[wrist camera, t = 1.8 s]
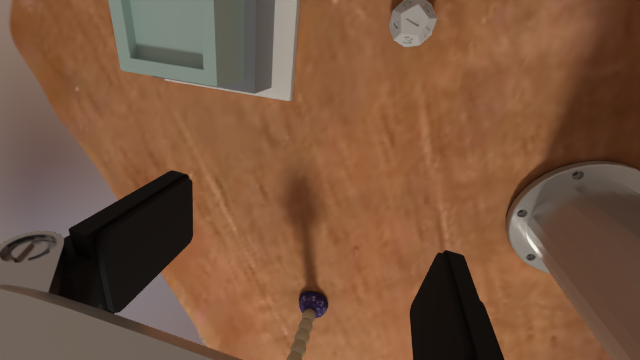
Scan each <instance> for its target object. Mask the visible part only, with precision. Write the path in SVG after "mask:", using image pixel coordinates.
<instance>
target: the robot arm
mask: <svg viewBox="0 0 640 360" xmlns="http://www.w3.org/2000/svg"><path fill="white" fill-rule="evenodd" d="M69 233H70V235H69V236H67V237H66V238H63V237H62V235H61V234H58V233H56V232H51V231H36V232H30V233H25V234H22V235H19V236H16V237H13V238H11V239H9V240H7V241H5V242H3V243H2V244H0V360H242V359H239V358H236V357H234V356H231V355H228V354H225V353H222V352H220V351H217V350H214V349H211V348H208V347H206V346H203V345H200V344H197V343H194V342H192V341H189V340H186V339H183V338H180V337H178V336H175V335H172V334H169V333H166V332H163V331H161V330H158V329H155V328H152V327H149V326H146V325H144V324H141V323H138V322H135V321H132V320H129V319H127V318H123V317H121V316H118V315H115V314H114V313H118V312H120V311H121V310H122V309H124V308H125V307H126V306H127V305H128V304H129V303H130V302H131V301H132V300H133V299H134V298H135V297H136V296H137V295H138V294H139V293H140V292H141V291H142V290H143V289H144V288H145V287H146V286H147V285H148V284H149V283H150V282H151V281H152V280H153V279H154V278H155V277H156V276H157V275H158V274H159V273H160V272H161V271H162V270H163V269H164V268H165V267H166V266H167V265H168V264H169V263H170V262H171V261H172V260H173V259H174V258H175V257H176V256H177V255H178V254H179V253H180V252H181V251H182V250H183V249H184V248H185V247H186V246H187V245H188V244H189V243H190V242H191V240H192V237H193V197H192V180H190V179H189V176H188V175H187V174H184V173H180V172H177V171H169V172H167V173H166V174H164V175H162V176H160V177H159V178H157V179H155V180H153V181H152V182H150V183H148V184H146V185H145V186H143V187H141V188H139V189H138V190H136V191H134V192H132V193H131V194H129V195H127V196H125V197H124V198H122V199H120V200H118V201H117V202H115V203H113V204H112V205H110V206H108V207H106V208H105V209H103V210H101V211H99V212H97V213H96V214H94V215H92V216H91V217H89V218H87V219H85V220H84V221H82V222H80V223H78V224H77V225H75V226H73V227H71V228H70V229H69ZM506 233H507V237H508V240H509V242H510V244H511V246H512V248H513V249H514V250H515V252H516V253H517V255H518V256H519V257H520V258H521V259H522V260H523V261H524V262H526V263H527V264H529V265H530V266H532V267H534V268H536V269H538V270H541V271H543V272H546V273H550V274H551V275H552V276H553V278H554V279H555V281H556V282H557V283H558V285H559V286H560V288H561V289H562V291H563V292H564V293H565V295H566V296H567V298H568V299H569V300H570V302H571V303H572V305H573V306H574V308H575V309H576V310H577V312H578V313H579V315H580V316H581V317H582V319H583V320H584V322H585V323H586V325H587V326H588V327H589V329H590V330H591V332H592V333H593V334H594V336H595V337H596V339H597V340H598V341H599V343H600V344H601V346H602V347H603V349H604V350H605V351H606V353H607V354H608V356H609V357H610V358H611V360H640V170H638V169H636V168H633V167H630V166H627V165H625V164H621V163H616V162H610V161H587V162H580V163H574V164H570V165H567V166H563V167H560V168H557V169H555V170H553V171H550V172H548V173H546V174H544V175H542V176H541V177H539V178H538V179H536V180H534V181H533V182H532V183H530V184H529V185H528V186H527V187H526V188H525V189H523V190H522V191H521V193H520V194H519V195H518V196H517V197H516V199H515V200H514V202H513V203H512V205H511V207H510V209H509V212H508V215H507V218H506ZM410 323H411V336H412V349H413V360H504V357H503V355H502V352H501V349H500V346H499V344H498V341H497V338H496V336H495V333H494V330H493V327H492V325H491V322H490V319H489V316H488V314H487V311H486V308H485V306H484V304H483V303H482V302H481V301H480V299H479V297H478V294H477V291H476V288H475V285H474V283H473V280H472V277H471V274H470V271H469V269H468V266H467V263H466V260H465V258H464V256H463V255H461V254H457V253H454V252H451V251H447V250H445V251H444V252H443V253H438V254H437V255H436V257H435V259H434V261H433V263H432V265H431V267H430V269H429V271H428V273H427V275H426V277H425V279H424V281H423V283H422V285H421V287H420V289H419V291H418V293H417V295H416V297H415V299H414V301H413V303H412V305H411V309H410Z"/></svg>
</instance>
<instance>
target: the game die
mask: <svg viewBox="0 0 640 360" xmlns="http://www.w3.org/2000/svg"><path fill="white" fill-rule="evenodd" d="M436 20H437V17H436V14H435V12H434V9H433V7H432V4H430V3H429V2H428V1H427V0H403V1H402V2H401V3H400V4H399V5H398V6H397V7H396V8H395V9H394V10H393V12H392V16H391V20H390V24H389V28H390V31H391V34H392V37H393V39H394V41H396V42H398V43H399V44H401V45H402V46H404V47H411V46H418V45H421V44H422V43H423V42H424V41H425V40H426V39H427V38H428V37H429V36H430V35H431V34H432V31H433V28H434V26H435V23H436Z"/></svg>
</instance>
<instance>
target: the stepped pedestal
mask: <svg viewBox="0 0 640 360" xmlns="http://www.w3.org/2000/svg"><path fill="white" fill-rule="evenodd" d="M109 6H110V11H111V17H112V23H113V28H114V34H115V39H116V45H117V50H118V56H119V62H120V67H121V71H127V72H133V73H139V74H145V75H151V76H153V77H158V78H164V79H165V80H167V81H173V82H179V83H185V84H191V85H197V86H202V87H208V88H214V89H220V90H226V91H232V92H238V93H244V94H250V95H256V96H262V97H268V98H274V99H280V100H286V101H291V100H293V92H294V78H295V65H296V52H297V38H298V25H299V11H300V0H109Z"/></svg>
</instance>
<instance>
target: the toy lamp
mask: <svg viewBox="0 0 640 360" xmlns="http://www.w3.org/2000/svg"><path fill="white" fill-rule="evenodd" d="M299 307H300V310H301V312H302V313H303V315H302V320H301V322H300V324H299V330H298V331H297V333H296V335H295V341H294V342H293V344H292V346H291V353H290V354H289V356H288V358H287V360H302V357H303V356H304V354H305V351H306V345H307V343H308V341H309V334H310V333H311V331H312V327H313V323H314V321H315V318H318V317H321V316H322V315H323V314H324V313H325V312H326V310H327V308H328V303H327V300H326V299H325V298H324V297H323V296H322V295H320V294H318V293H316V292H312V291H309V292H305V293H303V294H302V295H301V296H300V298H299Z"/></svg>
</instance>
